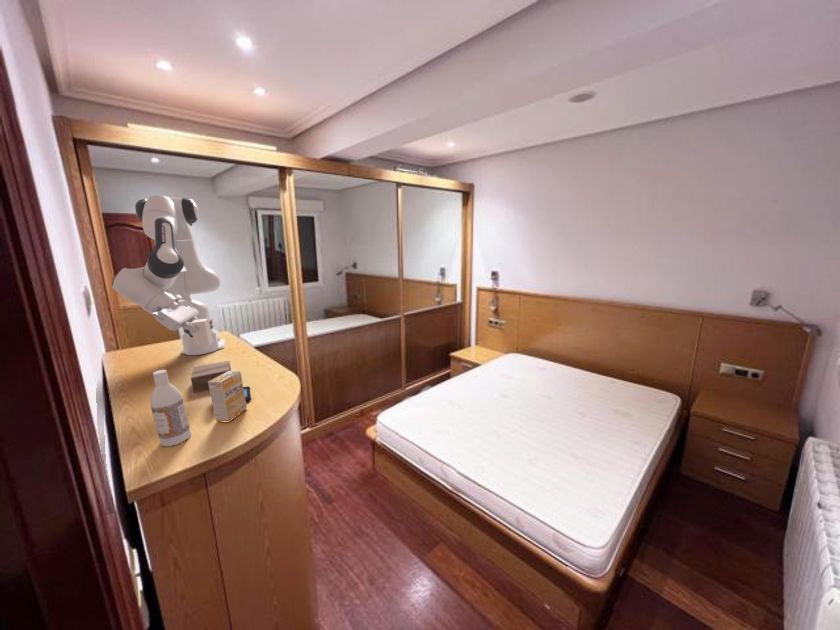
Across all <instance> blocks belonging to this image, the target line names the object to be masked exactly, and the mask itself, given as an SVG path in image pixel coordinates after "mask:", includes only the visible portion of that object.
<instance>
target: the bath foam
mask: <svg viewBox="0 0 840 630" xmlns="http://www.w3.org/2000/svg"><path fill="white" fill-rule="evenodd" d="M152 377H153V380H154V381H153V382H154V384H155V387H154V389H153V390H152V392H151V393H152V394H151V395H150V399H149V400H150V401H149V402H150V403H149V404H150V405H149V406H150V409H151V413H152V417H153V421H154V425H155V427H156V432H157V436H158V439H159V444H160V445H161V446H163V447H174V446H177V445H180V444H183V443H184V442H185V440H186V439H187V440H188V439H189V438H190V437H191V434H192V433H191V432H192V431H191V428H190V424H189V419H188V415H187V411H186V407H185V402H184V399H183V395H182V393H181V391H180V390H179V389H178V387H176V386H175V385H173V384H172V383H171V382H170V381H169V375H168V371H167V370H166V369H160V370H156V371H154V372H153V373H152ZM187 440H186V441H187ZM183 441H184V442H183ZM179 443H180V444H179ZM173 445H174V446H173Z"/></svg>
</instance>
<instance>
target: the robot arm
mask: <svg viewBox="0 0 840 630" xmlns="http://www.w3.org/2000/svg"><path fill="white" fill-rule="evenodd" d="M134 210H135V214H136V216H137V218H138V220H139V221H140V222H141V224H142V229H143V233H144V234H145V235H146V236H147V237H148V238H149V239H152V240H154V248H152V250H151V251H150V252H149V254H148V256H147V260H146V263H145V266H142V267H137V268H127V267H123V268H122V269H120V270H119V271H118V272H117V273H116V274H115V276H113V278H112V282H111V287H112V288H113V290H114V291H115V292H117V293H118V294H119V295H120V296H121V297H124V298H125V299H126V300H128V301H130V302H131V303H132V304H136V305H138V306H140V307H141V308H142V309H143V310H144V311H145V312H146V313H147V312H148V313H149V314H150V315H152V316H153V317H154V319H155V321H157V322H158V323H159V324H161V325H162V326H164V327H165V328H167V330H170V331H172V332H176V331H177V330H179V329H180V328H182V330H183V333H184V334H183V335H182V336H181V343H182V348H183V349H182V350H181V351H180V354H182V355H187V356H199V355H204V354H209V353H213V352H215V351H219V350H221V349H224V348H225V346H226V344H225V343H226V338H221V337H220V332H219V331H218V330H217V329H215V328H214V324H213V322H214V321H213V319H211V318H210V314H209V308H208V306H207V304H205V303H204V302H202V301H199V300H196V299H194V298H193V297H192V296H191V295H200V294H207V293H211V292H214V291H217V290H218V289H219V287H220V286H221V279H220V277H219V275H218V274H217V272H216V271H214V270H212V269H210V268H209V267H207V266H206V265H205V264H204V263H203V262H202V261H201V259H200V257H199V255H198V251H197V248H196V244H195V240H194V239H195V238H194V236H193V235H194V234H193V232H192V229H191V227H192V226H193V224H194V223H196V222H197V221H198V220H199V215H200V214H199V213H200V210H199V207H198V205H197V203H196V202H195V200H193V199H192V198H189V197H188V198H187V197H181V198H180V197H168V196H165V195H162V194H153V195H150V196H149V197H148V198H143V199H138V200H137V202H136V203H135V205H134ZM183 268H185V270H184V269H183ZM182 270H184V271H182ZM198 319H209V324H210V329H211V334H212V339H213V342H212V343H211V344H210V345H208V346H199V347H195V342H194V338H193V333H196V332H197V331H198V330H199V328H198V327H196V326H193V325H191V324H190V323H191V322H192V321H194V320H198ZM192 332H193V333H192Z"/></svg>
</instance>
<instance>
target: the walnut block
mask: <svg viewBox="0 0 840 630" xmlns="http://www.w3.org/2000/svg"><path fill="white" fill-rule="evenodd" d="M227 371H232V368H231V363H230V360H225V361H220V362H215V363H210V364H205V365H204V364H203V365H199V366H193V369H192V372H191V376H190V381H191V384H192V385H191V386H192V390H193V393H194V394H196V393H201V392H204V391H205V392H206V391H210V390H209V385H208V381H210V380H212V377H214V378H216V377H218V376H220V375H222V374H224V373H225V372H227Z"/></svg>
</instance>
